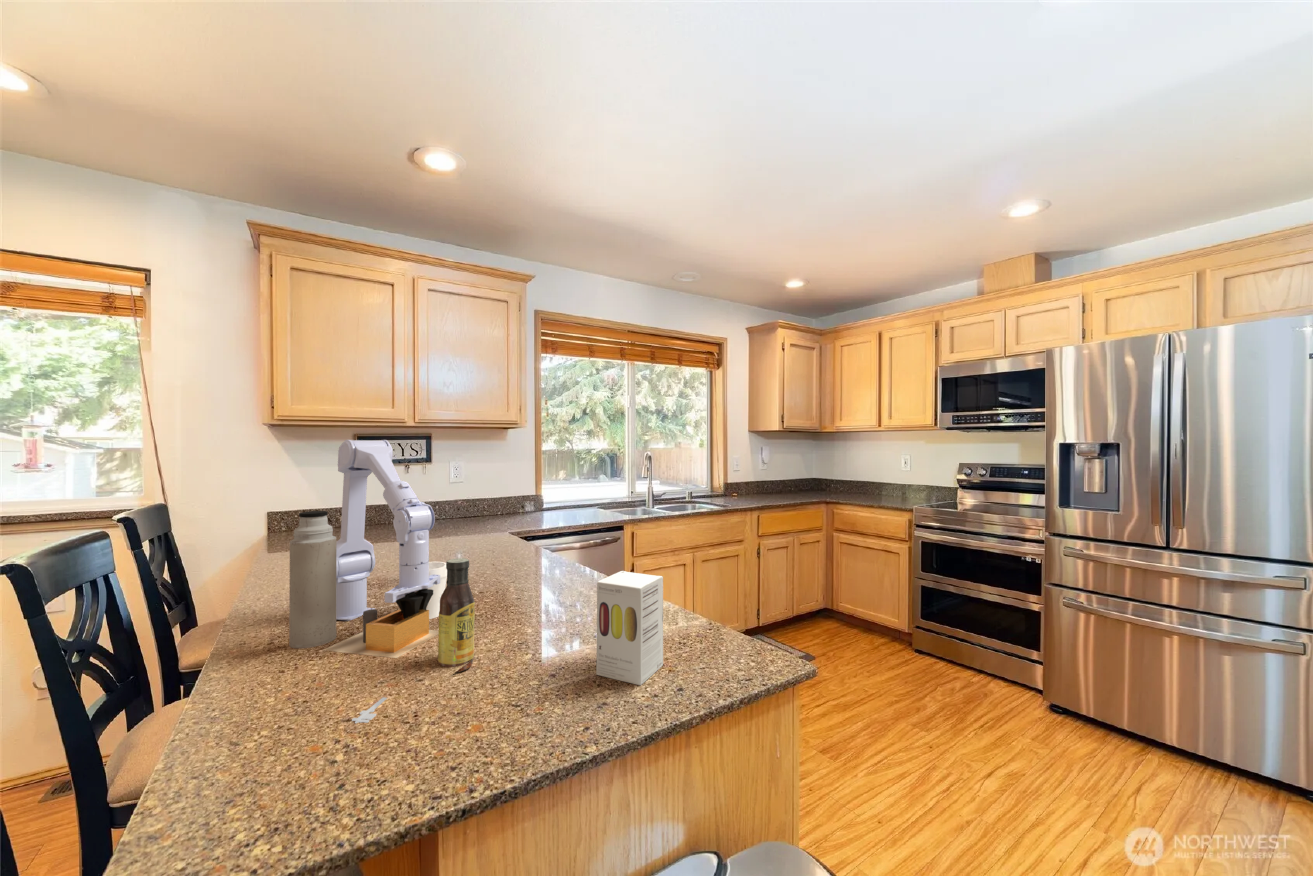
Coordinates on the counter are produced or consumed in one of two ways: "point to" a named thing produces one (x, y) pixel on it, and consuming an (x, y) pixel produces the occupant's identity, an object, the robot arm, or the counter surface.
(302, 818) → the counter surface
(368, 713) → the key
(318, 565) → the thermos bottle
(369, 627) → the orange wooden hollow box
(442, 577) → the foam cup
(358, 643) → the board
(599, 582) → the supplement box
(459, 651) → the sauce bottle
